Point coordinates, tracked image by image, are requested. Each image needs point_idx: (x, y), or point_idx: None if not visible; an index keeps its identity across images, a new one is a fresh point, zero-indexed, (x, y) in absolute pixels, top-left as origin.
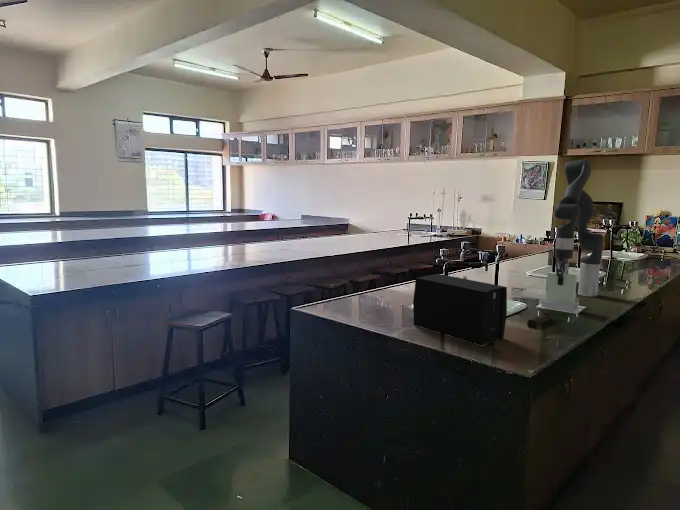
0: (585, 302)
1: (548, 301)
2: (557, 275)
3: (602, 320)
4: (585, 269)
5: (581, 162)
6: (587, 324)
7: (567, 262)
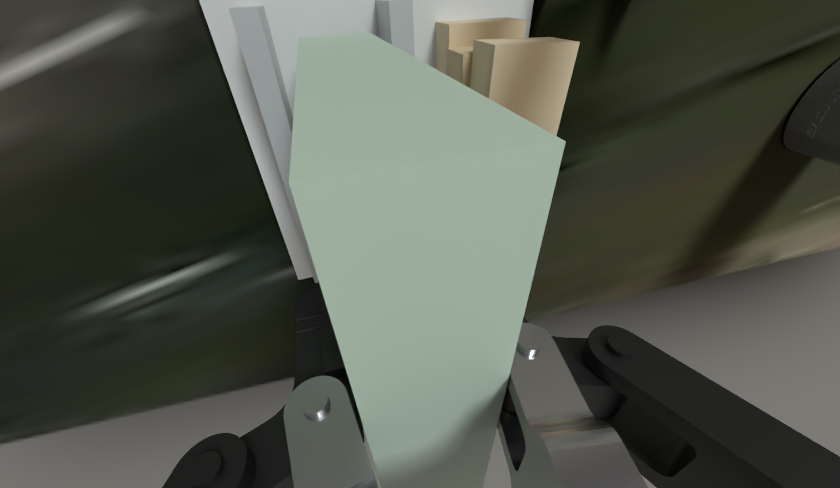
0: (645, 166)
1: (262, 95)
2: (187, 478)
3: None
4: None
5: None
6: (176, 364)
7: None
